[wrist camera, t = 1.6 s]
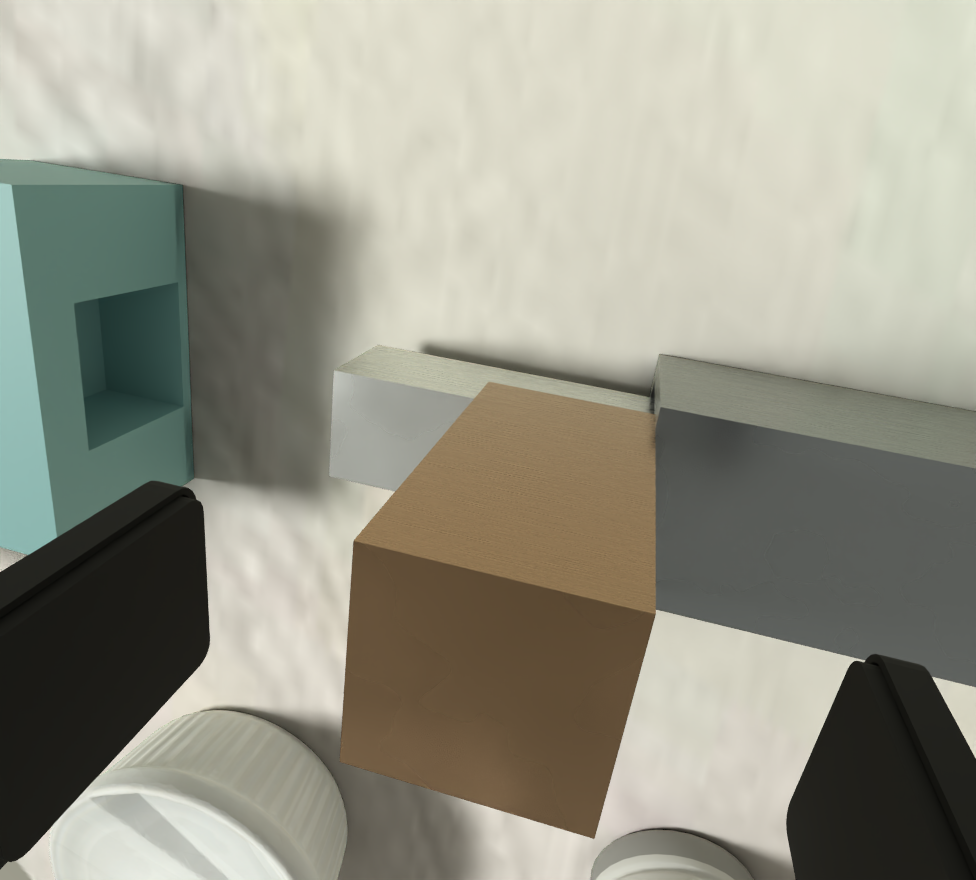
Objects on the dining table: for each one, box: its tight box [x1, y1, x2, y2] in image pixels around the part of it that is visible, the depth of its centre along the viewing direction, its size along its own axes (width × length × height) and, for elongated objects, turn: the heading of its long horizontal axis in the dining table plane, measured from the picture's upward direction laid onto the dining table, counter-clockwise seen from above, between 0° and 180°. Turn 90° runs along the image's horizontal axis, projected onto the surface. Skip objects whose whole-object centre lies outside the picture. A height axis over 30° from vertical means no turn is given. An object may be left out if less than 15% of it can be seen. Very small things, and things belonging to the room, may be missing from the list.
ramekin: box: [49, 710, 348, 880], centre depth 27 cm, size 11×11×5 cm
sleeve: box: [649, 354, 976, 687], centre depth 17 cm, size 12×5×5 cm, turn 82°
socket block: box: [0, 159, 194, 555], centre depth 20 cm, size 6×10×6 cm, turn 172°
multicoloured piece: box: [329, 345, 656, 839], centre depth 14 cm, size 19×4×11 cm, turn 82°
